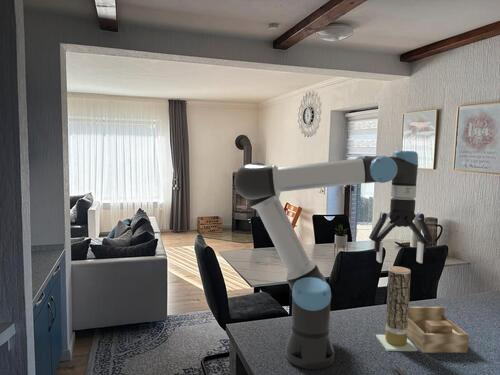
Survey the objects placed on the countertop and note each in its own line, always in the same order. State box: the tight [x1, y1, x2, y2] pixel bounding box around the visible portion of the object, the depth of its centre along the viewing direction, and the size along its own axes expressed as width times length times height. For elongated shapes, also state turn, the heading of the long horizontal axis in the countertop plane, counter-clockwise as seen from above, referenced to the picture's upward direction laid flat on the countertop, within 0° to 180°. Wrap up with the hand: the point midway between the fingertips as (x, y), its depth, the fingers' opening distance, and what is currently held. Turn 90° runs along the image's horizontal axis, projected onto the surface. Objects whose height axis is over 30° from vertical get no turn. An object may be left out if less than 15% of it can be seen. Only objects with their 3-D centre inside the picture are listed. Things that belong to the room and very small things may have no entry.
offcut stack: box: [425, 321, 457, 333], centre depth 123 cm, size 11×4×8 cm, turn 92°
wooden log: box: [384, 265, 412, 346], centre depth 125 cm, size 7×7×25 cm
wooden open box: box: [407, 306, 470, 354], centre depth 128 cm, size 15×15×9 cm
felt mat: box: [375, 334, 419, 352], centre depth 126 cm, size 10×10×1 cm
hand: (399, 261), depth 124 cm, fingers open, 13 cm apart
